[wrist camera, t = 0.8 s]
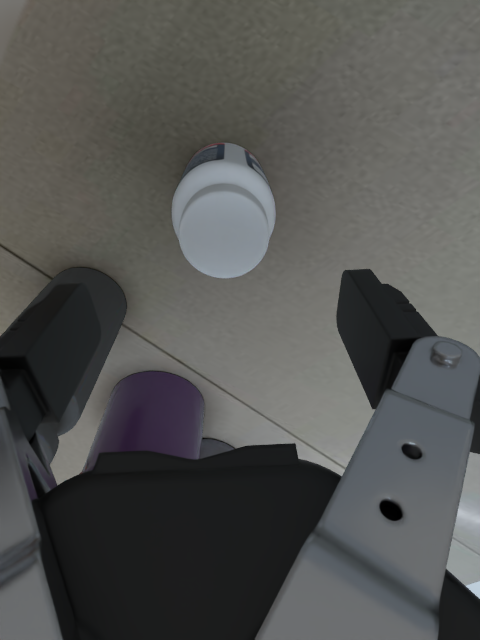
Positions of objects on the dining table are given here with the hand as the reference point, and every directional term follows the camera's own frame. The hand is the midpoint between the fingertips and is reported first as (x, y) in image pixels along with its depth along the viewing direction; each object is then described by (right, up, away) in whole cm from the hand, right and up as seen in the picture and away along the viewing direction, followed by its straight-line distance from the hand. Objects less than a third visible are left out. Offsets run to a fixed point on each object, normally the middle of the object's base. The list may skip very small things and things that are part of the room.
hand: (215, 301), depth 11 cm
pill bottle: (0, +8, +11) cm, 14 cm away
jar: (-7, -9, +23) cm, 25 cm away
